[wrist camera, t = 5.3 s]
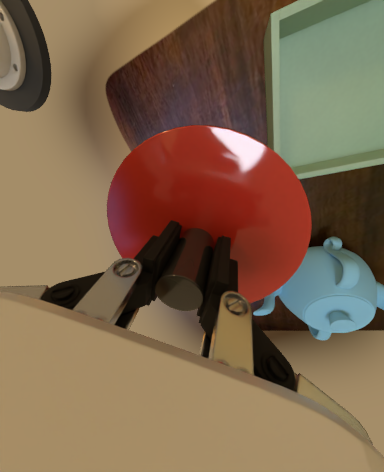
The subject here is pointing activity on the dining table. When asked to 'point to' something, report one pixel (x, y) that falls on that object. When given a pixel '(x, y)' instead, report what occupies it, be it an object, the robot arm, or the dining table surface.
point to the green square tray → (326, 85)
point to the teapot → (330, 291)
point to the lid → (211, 210)
